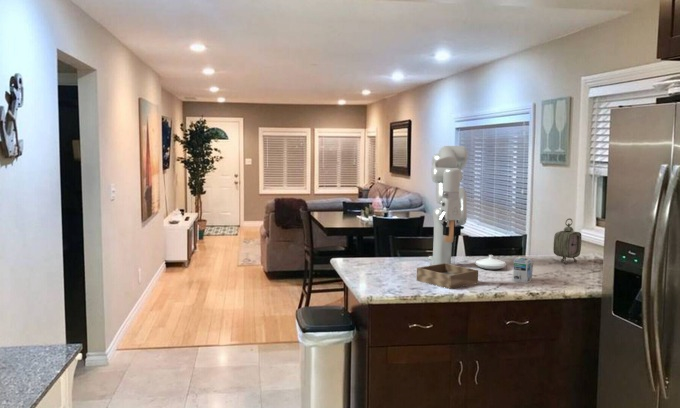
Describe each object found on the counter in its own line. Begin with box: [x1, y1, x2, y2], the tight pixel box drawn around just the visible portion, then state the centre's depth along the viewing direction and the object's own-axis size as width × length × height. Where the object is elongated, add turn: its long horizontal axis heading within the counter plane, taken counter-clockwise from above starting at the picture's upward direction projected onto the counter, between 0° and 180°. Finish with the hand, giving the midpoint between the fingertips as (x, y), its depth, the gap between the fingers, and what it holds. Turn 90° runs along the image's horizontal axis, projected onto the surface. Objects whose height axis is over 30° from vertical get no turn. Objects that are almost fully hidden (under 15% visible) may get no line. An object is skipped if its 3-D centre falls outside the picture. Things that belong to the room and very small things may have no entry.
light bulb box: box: [512, 255, 534, 284], centre depth 272 cm, size 11×7×11 cm, turn 148°
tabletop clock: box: [553, 217, 582, 265], centre depth 319 cm, size 14×9×25 cm, turn 129°
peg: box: [444, 220, 455, 243], centre depth 264 cm, size 4×4×10 cm
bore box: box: [416, 263, 479, 290], centre depth 266 cm, size 20×20×6 cm
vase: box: [475, 254, 507, 271], centre depth 299 cm, size 16×16×7 cm
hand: (449, 234), depth 264 cm, fingers closed on peg, 4 cm apart
